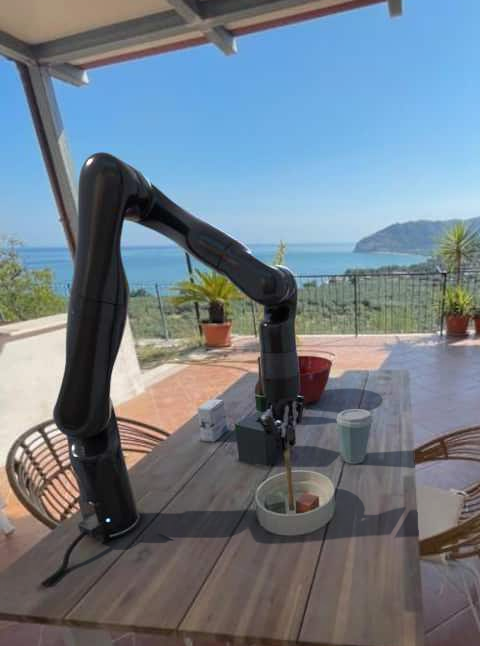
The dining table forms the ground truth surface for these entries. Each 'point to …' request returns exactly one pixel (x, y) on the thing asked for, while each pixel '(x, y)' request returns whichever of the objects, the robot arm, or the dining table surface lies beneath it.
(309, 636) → the dining table surface
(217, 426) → the ink box
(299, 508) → the terracotta block
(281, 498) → the sage block
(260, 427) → the stick stand
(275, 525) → the bowl
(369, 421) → the disposable coffee cup
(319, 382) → the mixing bowl
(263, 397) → the beer bottle
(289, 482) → the stirring stick
